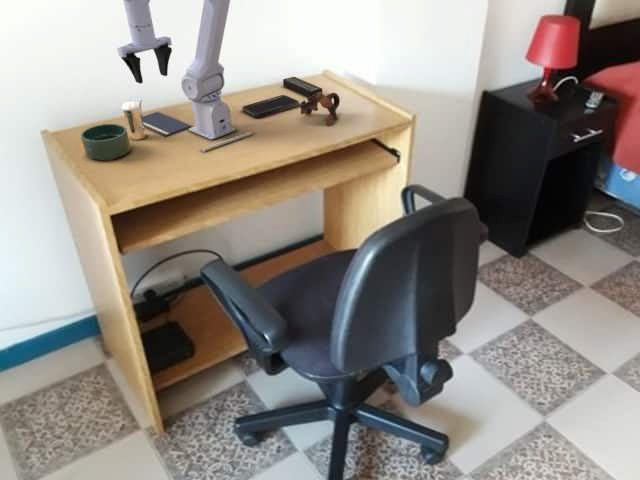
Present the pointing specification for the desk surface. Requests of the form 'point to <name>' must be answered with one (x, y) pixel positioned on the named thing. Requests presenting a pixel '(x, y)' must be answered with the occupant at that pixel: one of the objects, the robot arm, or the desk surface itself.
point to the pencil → (226, 142)
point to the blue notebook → (163, 124)
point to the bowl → (106, 141)
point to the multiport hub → (301, 86)
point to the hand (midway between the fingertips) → (151, 78)
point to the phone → (270, 106)
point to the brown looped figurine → (325, 102)
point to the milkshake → (134, 119)
